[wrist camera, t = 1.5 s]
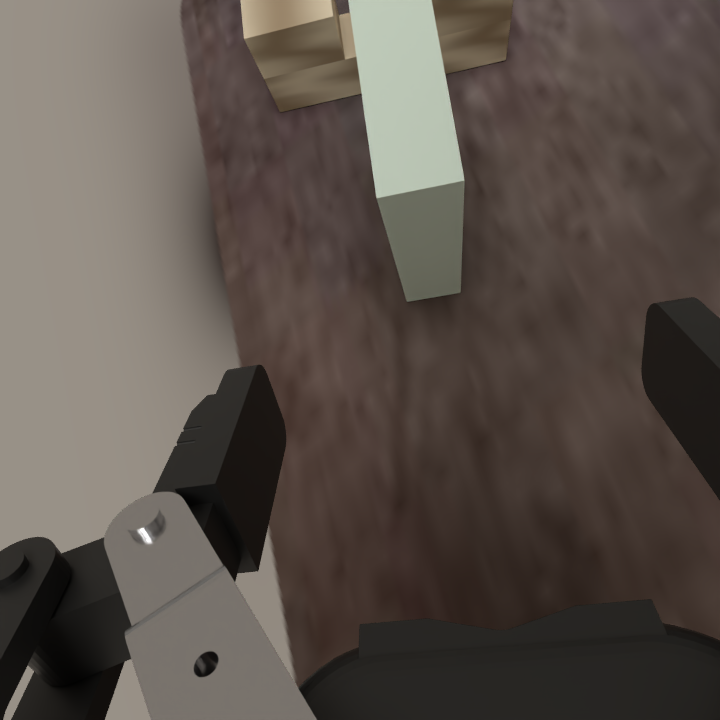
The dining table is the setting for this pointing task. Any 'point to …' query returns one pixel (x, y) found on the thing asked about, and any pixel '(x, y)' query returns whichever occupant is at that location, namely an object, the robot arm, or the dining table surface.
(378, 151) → the mint green upright block
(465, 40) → the birch slotted plate
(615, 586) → the dining table surface
